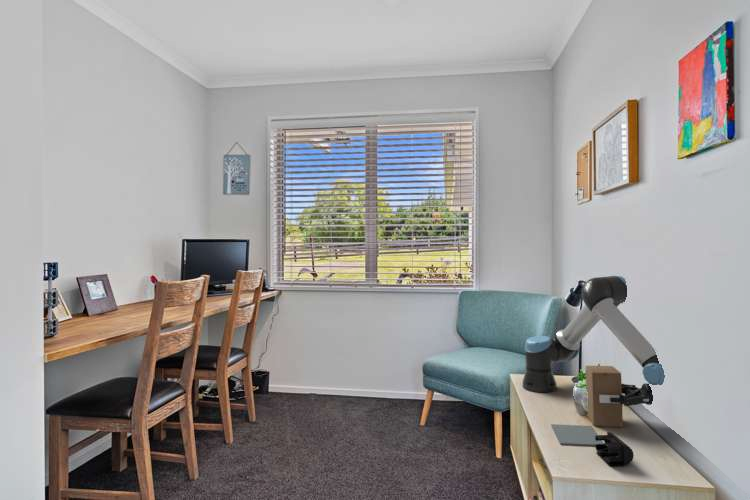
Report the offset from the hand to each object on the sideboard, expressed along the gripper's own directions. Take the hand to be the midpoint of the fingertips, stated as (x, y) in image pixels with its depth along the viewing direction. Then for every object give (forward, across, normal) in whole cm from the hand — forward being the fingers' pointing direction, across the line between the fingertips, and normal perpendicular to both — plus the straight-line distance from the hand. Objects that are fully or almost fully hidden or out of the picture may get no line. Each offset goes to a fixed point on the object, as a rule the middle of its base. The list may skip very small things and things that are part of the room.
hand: (594, 392), depth 170 cm
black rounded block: (+3, -31, -11) cm, 33 cm away
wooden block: (-3, 0, -11) cm, 12 cm away
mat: (+10, -14, -11) cm, 20 cm away
